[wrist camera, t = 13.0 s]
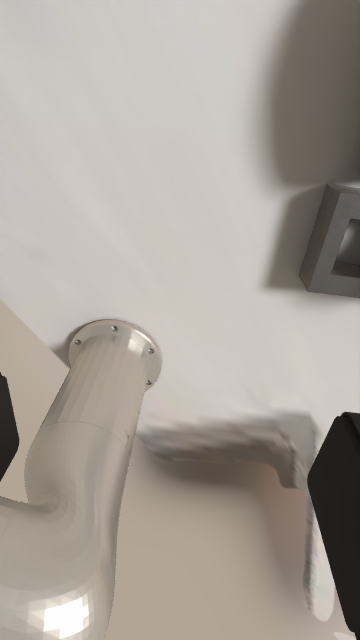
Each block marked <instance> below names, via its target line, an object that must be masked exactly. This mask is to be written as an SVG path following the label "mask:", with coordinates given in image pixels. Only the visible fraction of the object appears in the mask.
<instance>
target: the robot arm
mask: <svg viewBox="0 0 360 640" xmlns="http://www.w3.org/2000/svg"><path fill="white" fill-rule="evenodd" d="M68 361H69V364H70V367H71V369H70V371H69V373H68V375H67V377H66V379H65V381H64V383H63V384H62V386H61V388H60V390H59V392H58V394H57V396H56V398H55V400H54V402H53V404H52V406H51V408H50V409H49V411H48V413H47V415H46V417H45V419H44V421H43V423H42V425H41V427H40V429H39V431H38V433H37V435H36V437H35V438H34V440H33V442H32V444H31V446H30V449H29V451H28V454H27V457H26V461H25V469H24V478H25V487H26V493H27V498H28V502H29V504H28V503H23V502H17V501H14V500H11V499H8V498H5V497H1V496H0V640H104V637H105V634H106V631H107V628H108V624H109V620H110V615H111V610H112V605H113V598H114V587H115V569H116V548H117V533H118V523H119V515H120V507H121V501H122V496H123V491H124V485H125V480H126V475H127V470H128V466H129V460H130V456H131V451H132V446H133V442H134V437H135V432H136V428H137V423H138V419H139V414H140V409H141V405H142V400H143V395H144V392H145V391H147V390H148V389H149V388H151V387H152V386H153V385H154V384H155V382H156V381H157V379H158V377H159V375H160V371H161V364H162V359H161V353H160V351H159V348H158V346H157V345H156V343H155V342H154V340H153V339H152V338H151V337H150V336H149V335H148V334H147V333H146V332H144V331H143V330H142V329H140V328H138V327H137V326H135V325H133V324H130V323H127V322H124V321H118V320H101V321H95V322H93V323H90V324H88V325H86V326H84V327H83V328H81V329H80V330H79V331H78V332H77V333H76V334H75V336H74V338H73V339H72V341H71V343H70V346H69V350H68ZM18 446H19V436H18V431H17V427H16V421H15V417H14V412H13V407H12V402H11V398H10V393H9V388H8V384H7V379H6V378H5V376H2V375H1V372H0V481H1V479H2V478H3V476H4V474H5V472H6V470H7V468H8V467H9V465H10V463H11V461H12V459H13V458H14V456H15V454H16V452H17V450H18ZM307 482H308V489H309V492H310V496H311V499H312V503H313V507H314V510H315V514H316V517H317V521H318V525H319V528H320V532H321V535H322V539H323V543H324V546H325V550H326V553H327V557H328V561H329V564H330V568H331V572H332V575H333V579H334V582H335V586H336V590H337V593H338V597H339V600H340V604H341V607H342V611H343V615H344V618H345V622H346V624H347V626H348V628H349V630H350V631H352V632H354V633H355V636H356V640H360V413H351V412H344V413H342V415H341V416H337V417H336V418H335V419H334V421H333V424H332V426H331V428H330V430H329V432H328V434H327V436H326V438H325V440H324V442H323V444H322V446H321V449H320V451H319V453H318V455H317V457H316V459H315V461H314V463H313V465H312V467H311V469H310V471H309V474H308V479H307Z"/></svg>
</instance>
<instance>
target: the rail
mask: <svg viewBox="0 0 360 640" xmlns="http://www.w3.org/2000/svg"><path fill="white" fill-rule="evenodd" d="M350 218H351V219H359V220H360V188H353V187H345V186H337V185H329V184H327V186H326V190H325V193H324V196H323V199H322V203H321V206H320V209H319V212H318V216H317V219H316V222H315V225H314V229H313V232H312V235H311V238H310V242H309V245H308V248H307V251H306V255H305V258H304V261H303V264H302V268H301V271H300V274H299V277H300V279H301V281H302V282H303V284H304V286H305V287H306V289H307V291H308V292H315V293H324V294H332V295H340V296H349V297H357V298H360V265H355V264H346V263H338V262H335V260H336V257H337V254H338V252H339V249H340V246H341V243H342V240H343V238H344V235H345V232H346V229H347V227H348V224H349V221H350Z"/></svg>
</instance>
